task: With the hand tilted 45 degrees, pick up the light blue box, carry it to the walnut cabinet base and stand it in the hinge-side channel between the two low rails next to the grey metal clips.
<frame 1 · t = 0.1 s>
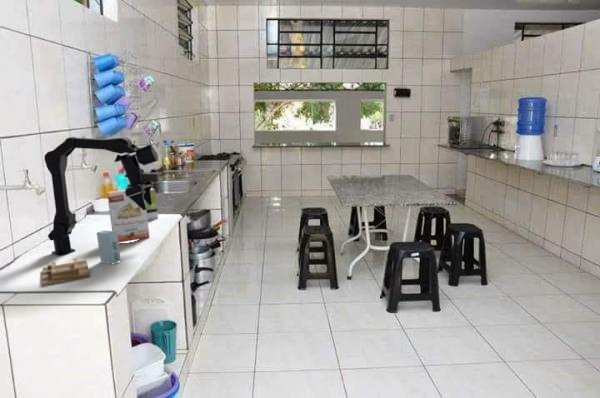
hand: (147, 207, 186), 15 cm above the countertop, tool pointing down, fingers open, 9 cm apart
light blue box: (111, 261, 172), on the countertop
tea box: (145, 217, 239), on the countertop
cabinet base: (66, 273, 162), on the countertop
cracker box: (131, 239, 200), on the countertop
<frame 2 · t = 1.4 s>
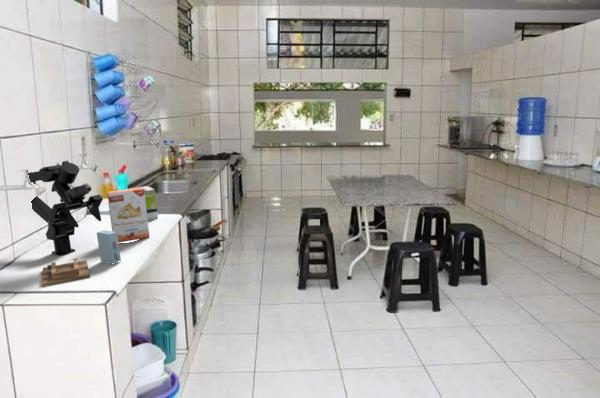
hand: (89, 223, 174), 13 cm above the countertop, tool tilted 45°, fingers open, 9 cm apart
nothing on the countertop moved.
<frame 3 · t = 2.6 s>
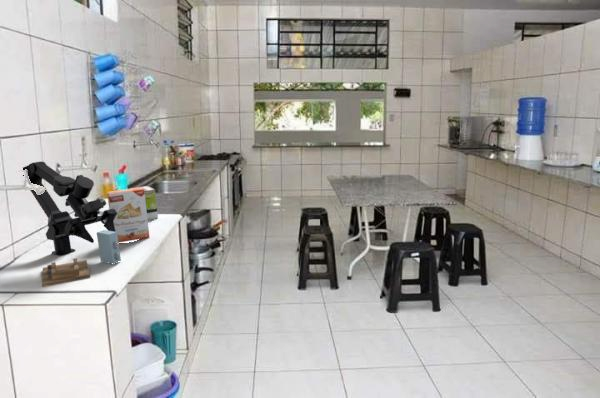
hand: (104, 238, 171), 8 cm above the countertop, tool tilted 45°, fingers open, 9 cm apart
nothing on the countertop moved.
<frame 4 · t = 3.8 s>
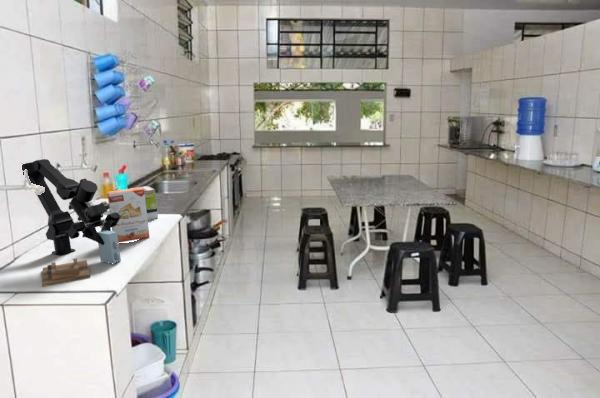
hand: (108, 242, 171), 7 cm above the countertop, tool tilted 45°, fingers closed on light blue box, 3 cm apart
light blue box: (111, 261, 172), on the countertop, touching gripper
everything else where it was.
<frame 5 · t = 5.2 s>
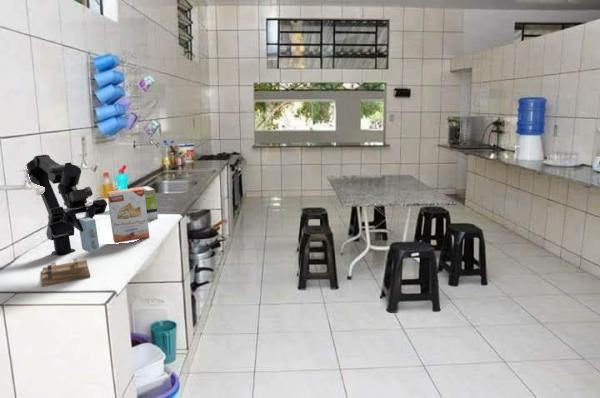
hand: (87, 229, 164), 13 cm above the countertop, tool tilted 45°, fingers closed on light blue box, 3 cm apart
light blue box: (90, 249, 166), point 6 cm above the countertop, touching gripper
everything else where it was.
when the fingers open (9 cm above the countertop, at t = 6.9 s): light blue box stays where it is, resting on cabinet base.
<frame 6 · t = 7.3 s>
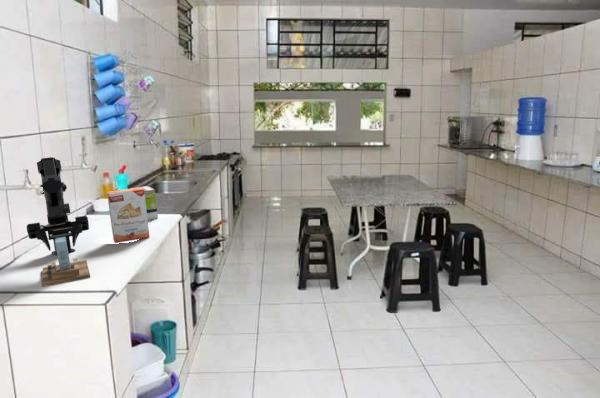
hand: (61, 248, 160), 9 cm above the countertop, tool tilted 45°, fingers open, 7 cm apart
light blue box: (65, 270, 162), point 1 cm above the countertop, touching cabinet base
everything else where it was.
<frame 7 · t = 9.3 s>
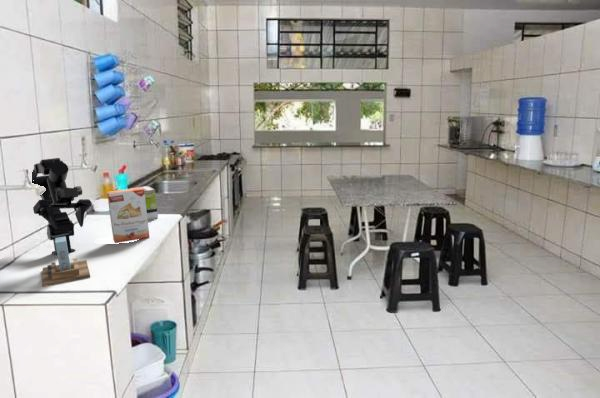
hand: (69, 227, 170), 13 cm above the countertop, tool tilted 35°, fingers open, 9 cm apart
nothing on the countertop moved.
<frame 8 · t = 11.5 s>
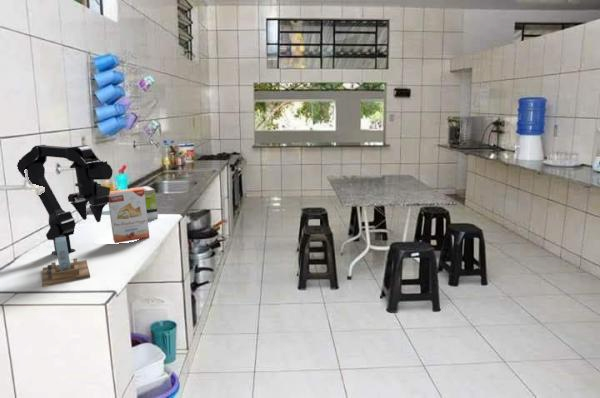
hand: (91, 220, 180), 13 cm above the countertop, tool pointing down, fingers open, 9 cm apart
nothing on the countertop moved.
at the end: light blue box inside the target area on the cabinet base (0.1 cm from its centre), point 1.0 cm above the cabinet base's base; light blue box tilted 0°; the gripper is holding nothing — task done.
